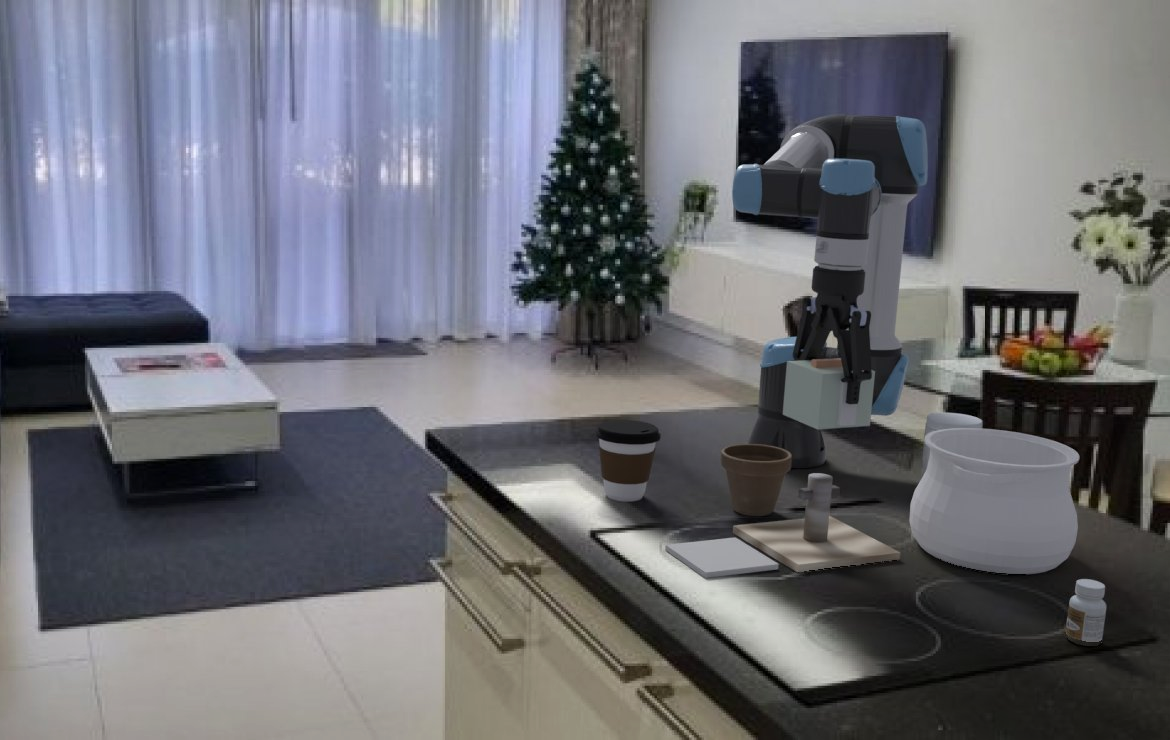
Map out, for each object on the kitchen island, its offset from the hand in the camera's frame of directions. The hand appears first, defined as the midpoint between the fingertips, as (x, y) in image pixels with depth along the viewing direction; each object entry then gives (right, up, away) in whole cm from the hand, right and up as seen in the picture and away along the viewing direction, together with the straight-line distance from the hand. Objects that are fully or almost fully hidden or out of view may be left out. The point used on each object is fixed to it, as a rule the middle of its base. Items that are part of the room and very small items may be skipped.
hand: (826, 416), depth 191 cm
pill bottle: (+28, -28, -27) cm, 48 cm away
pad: (-16, -21, -4) cm, 27 cm away
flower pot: (-8, -16, +20) cm, 27 cm away
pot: (+26, -21, +5) cm, 34 cm away
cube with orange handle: (0, -1, 0) cm, 1 cm away
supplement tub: (+27, -16, +32) cm, 44 cm away
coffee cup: (-29, -14, +24) cm, 41 cm away
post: (-1, -20, +4) cm, 20 cm away
